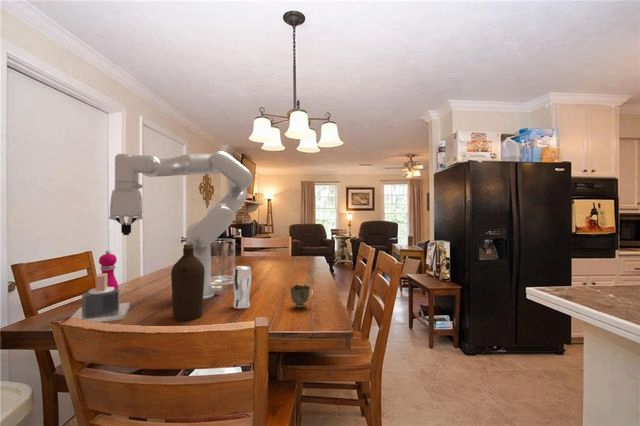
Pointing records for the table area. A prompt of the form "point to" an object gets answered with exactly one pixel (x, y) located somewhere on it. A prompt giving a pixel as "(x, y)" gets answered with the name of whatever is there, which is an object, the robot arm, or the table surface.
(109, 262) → the pepper mill
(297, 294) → the cup
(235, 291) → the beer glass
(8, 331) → the table surface
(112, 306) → the grey tub on base
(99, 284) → the beige blocky piece
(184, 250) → the olive oil
